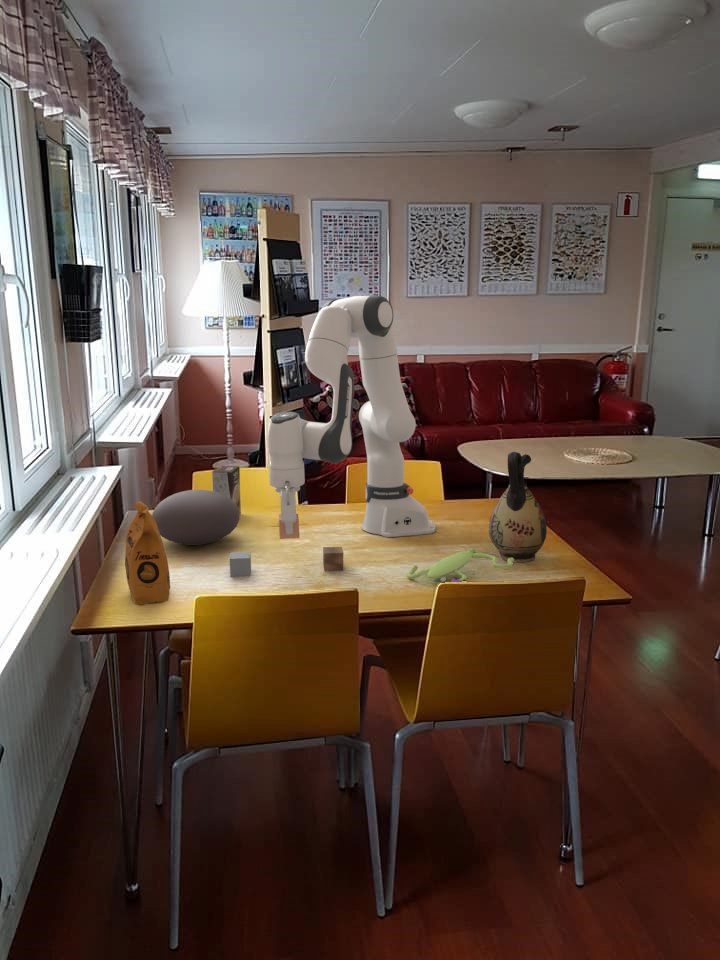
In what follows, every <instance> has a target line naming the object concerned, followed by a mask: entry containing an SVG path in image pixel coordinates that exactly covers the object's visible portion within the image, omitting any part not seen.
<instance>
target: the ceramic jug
mask: <svg viewBox="0 0 720 960" xmlns="http://www.w3.org/2000/svg"><path fill="white" fill-rule="evenodd" d="M531 462H532V458H531V456H530V455H529V454H526V453H525V454H523V455H521V453H520V452H517V451H512V452H510V453H508V455H507V473H508V479H509V484H508V487H507V488H506V489H505V490H504V492H503V493H502V495H501V496H500V497H499V499H498V500H497V503H496V504H495V506H494V508H493V509H492V511H491V514H490V518H489V524H488V534H489V538H490V540H491V543H492V544H493V546H494V547H495V548H496V549H497V551H498V553H499V554H500V555H499V556H500V558H501V559H502V560H505V561H506V562H508V558H513V559H514V562H513V563H521V562H522V563H525V562H532V561H534V560H535V559H536V554H537V553H538V552H539V551H540V550H541V548H542V547H543V546H544V544H545V541H546V538H547V534H548V530H547V523H546V518H545V514H544V512H543V510H542V507H541V506H540V503H539V502H538V501H537V499H536V497H535V495H534V494H533V492H532V491H531V490H530V489H529V488H528V486H527V484H526V482H525V468H526V465H528V464H530V463H531Z"/></svg>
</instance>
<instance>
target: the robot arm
mask: <svg viewBox="0 0 720 960" xmlns="http://www.w3.org/2000/svg"><path fill="white" fill-rule="evenodd" d="M393 322H394V309H393V306H392V304H391V303H390V301H389V300H388V299H387V298H386V297H384V296H382V295H376V294H373V295H353V296H350V297H343V298H341V299H337V298H335V299H333V300H329V301H327V302H325V303H324V304H323V306H322V307H321V309H320V310H319V311H318V313H317V315H316V318H315V319H314V322H313V324H312V327H311V330H310V332H309V337H308V339H307V344H306V348H305V353H304V361H305V362H304V363H305V365H306V367H307V369H308V370H309V372H310V373H311V374H312V375H314V376H315V377H316V378H318V379H319V380H321V381H323V382H325V383H326V384H328V385H331V388H332V391H333V397H332V411H331V419H330V421H328V422H318V421H310V420H309V421H308V420H305V419H303V418H301V417H300V414H298V413H297V412H294V411H283V412H278V413H276V414H274V415H273V416H271V417H270V419H269V423H268V428H267V450H268V453H269V462H268V472H269V474H268V475H269V477H268V478H269V485H270V486H271V487H273V488H274V490H275V492H277V493H279V497H280V514H281V519H282V522H283V523H285V527H286V534H292V533H293V523H294V522H296V514H297V506H296V505H297V501H296V500H297V499H296V497H297V496H296V493H297V492H299V491H300V490H301V486H303V485H305V481H306V480H305V463H304V460H303V459H308V460H316V461H322V462H326V463H330V464H334V465H335V464H336V465H337V464H339V463H341V462H342V461H344V460H346V458H347V457H348V456H349V455H350V453H351V451H352V448H353V432H352V430H353V429H352V423H353V422H352V421H353V409H354V408H353V407H354V406H353V405H354V393H355V377H354V376H355V375H354V371H353V368H351V366H350V365H349V362H348V354H349V349H350V343H351V338H357V339H358V341H357V342H358V356H359V364H360V365H359V366H360V371H361V378H362V379H361V381H362V385H363V388H364V390H365V391H366V394H367V396H368V399H369V400H368V401H366V402H365V403H364V404H363V405H362V406H361V407H360V409H359V411H358V421H359V423H360V425H361V428H362V433H363V440H364V445H365V451H366V458H367V459H366V460H367V463H366V464H367V469H366V470H367V471H366V472H367V474H366V475H367V482H366V483H365V493H364V494H365V496H364V497H365V502H366V505H365V512H364V517H363V522H362V525H361V529H362V530H363V531H364V532H367V533H370V534H375V535H379V536H383V537H385V538H393V537H394V538H395V537H404V536H417V535H418V536H419V535H427V534H429V535H430V534H434V533H435V532H436V525H435V522H434V521H433V520H431V519H429V516H428V511H427V509H426V507H425V505H424V504H422V503H421V502H419V501H418V500H417V499H416V498H414V497H413V496H412V495H413V493H414V488H413V487H412V486H410V485H409V484H408V483H407V482H406V483H405V479H404V478H405V458H404V455H403V453H402V449H401V445H400V443H403V442H406V441H408V440H409V439H411V438H412V436H413V435H414V434H415V431H416V426H417V425H416V424H417V423H416V419H415V417H414V415H413V413H412V411H411V410H410V407H409V404H408V401H407V397H406V395H405V391H404V388H403V385H402V380H401V374H400V366H399V359H398V351H397V344H396V339H395V335H394V331H393V328H392V327H393V326H392V325H393Z"/></svg>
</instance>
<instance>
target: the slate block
mask: <svg viewBox="0 0 720 960" xmlns="http://www.w3.org/2000/svg"><path fill="white" fill-rule="evenodd" d="M251 554H252V553H251V551H232V552H231V551H230V556H229V572H230V573H229V574H230V575H229V577H230V578H240V577H241V578H242V577H249V578H250V577H251V574H252V558H251V556H252V555H251Z"/></svg>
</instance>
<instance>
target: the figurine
mask: <svg viewBox="0 0 720 960" xmlns="http://www.w3.org/2000/svg"><path fill="white" fill-rule="evenodd" d="M472 558H474V559H476V558H477V559H487V560H491V561H492V566H493V567H494V568H496V569H509V568H511V567H512V566H513V565H514V563H515V562H514V559H513V558H508V561H507V564H502V563H501V564H500V563H497V560H498V558H497V557H496V556H494V555H492V554H487V553H477V548H476V547H475V548H474V547H471V548H469V549H467V550H465V551H461V550H460V551H458V552H456V553H453V554H451V555H447V557H444V558H443V559H441V560H438V562H436V563H435V564H434V565H432V566H430V567H429V568H427V569H422V570H420V571H418V572H416V571H417V570H418V569H419V567H418V566H417V565H413V567H412V568H411V569H410V570H409V572H408V573H407V578H408V579H409V580H414V579H417V578H419V577H421V576H423V575H426V574H427V575H426V576H427V578H429V579H433V580H438V579H439V581H441V582H442V583H445V582H446V581H447V576H449V575H450V574H453V573H454V574H455V575H457V576H454V577H452V579H451V581H450V583H451V582H462V581H467V582H468V580H467V575H466V574H464V573H462V572H461V571H459V570H460V569H462V568H463V567H464V566H466V565H467V564H468V563H469V562H470V561H471V559H472ZM415 572H416V573H415ZM458 576H459V577H461V578H458Z"/></svg>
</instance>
